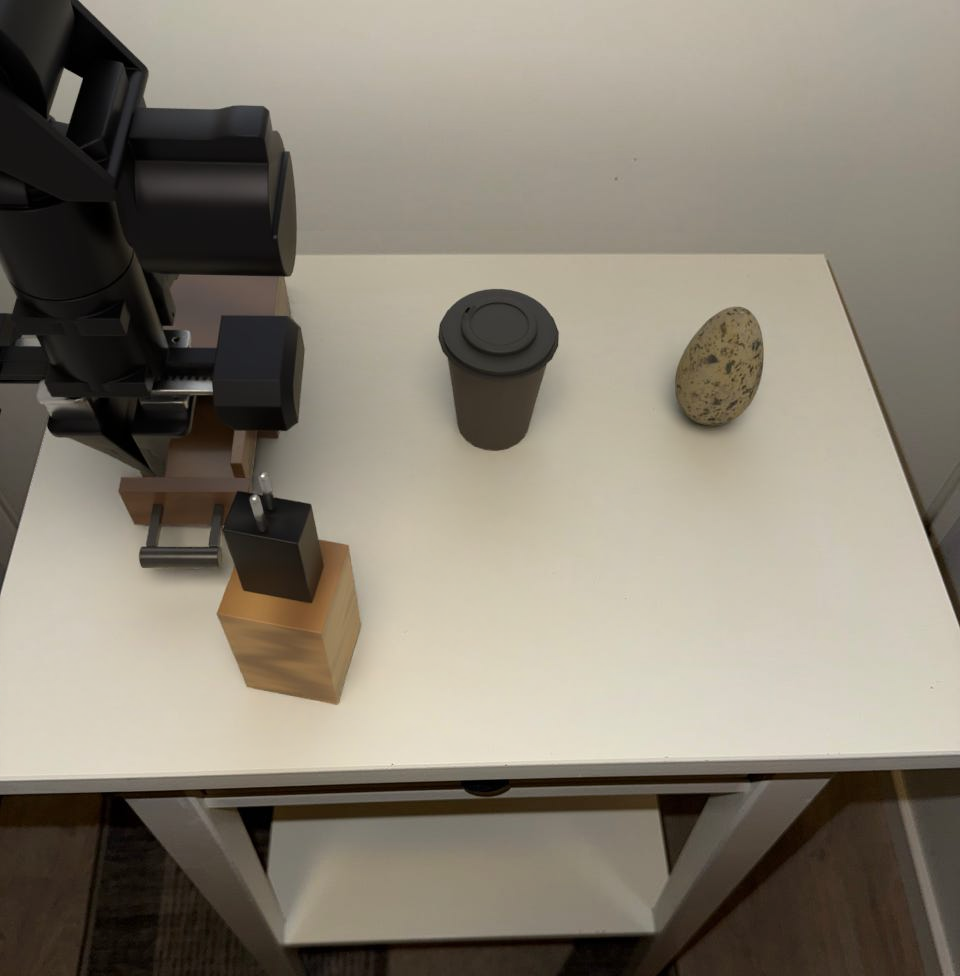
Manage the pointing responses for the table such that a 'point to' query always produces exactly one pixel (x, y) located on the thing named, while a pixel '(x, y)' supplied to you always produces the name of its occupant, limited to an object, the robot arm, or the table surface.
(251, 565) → the black wall charger
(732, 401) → the decorative egg
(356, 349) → the table surface
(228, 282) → the cabinet
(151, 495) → the drawer
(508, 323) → the coffee cup
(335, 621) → the pedestal
